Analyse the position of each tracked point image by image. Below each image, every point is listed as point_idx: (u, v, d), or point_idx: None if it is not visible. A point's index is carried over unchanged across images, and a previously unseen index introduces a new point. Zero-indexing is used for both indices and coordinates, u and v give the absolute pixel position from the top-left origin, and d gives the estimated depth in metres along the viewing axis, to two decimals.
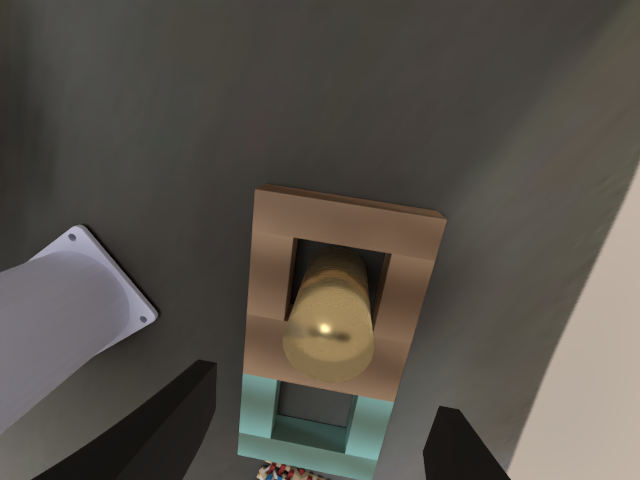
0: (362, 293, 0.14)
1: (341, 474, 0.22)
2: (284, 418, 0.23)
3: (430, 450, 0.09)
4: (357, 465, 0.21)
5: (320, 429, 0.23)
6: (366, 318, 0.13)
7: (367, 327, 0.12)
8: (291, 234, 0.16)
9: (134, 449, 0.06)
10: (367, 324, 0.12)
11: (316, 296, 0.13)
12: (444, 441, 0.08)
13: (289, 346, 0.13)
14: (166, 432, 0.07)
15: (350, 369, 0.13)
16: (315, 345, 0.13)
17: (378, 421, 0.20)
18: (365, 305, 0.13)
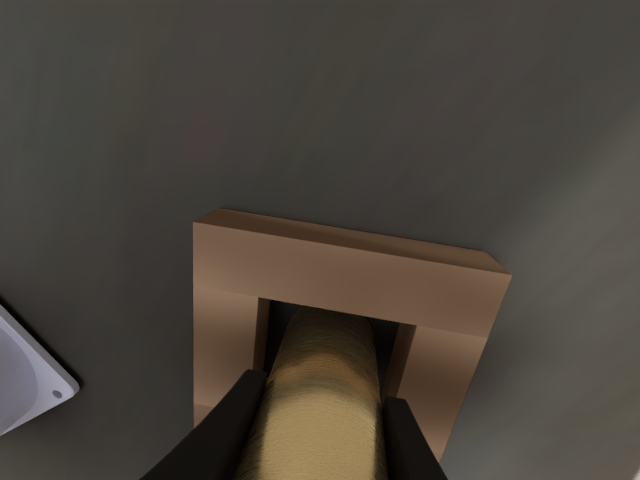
0: (370, 413, 0.08)
1: None
2: None
3: None
4: None
5: None
6: None
7: None
8: (255, 292, 0.10)
9: (207, 465, 0.06)
10: None
11: (283, 446, 0.07)
12: (386, 429, 0.09)
13: None
14: (232, 446, 0.07)
15: None
16: None
17: None
18: (377, 447, 0.07)
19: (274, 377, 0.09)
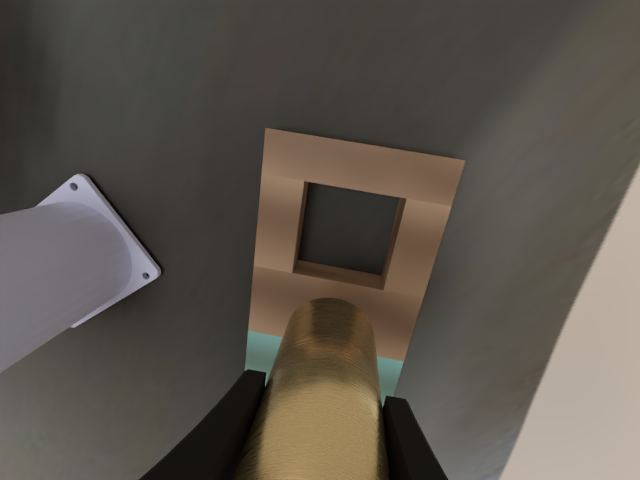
0: (371, 409, 0.08)
1: None
2: None
3: None
4: None
5: None
6: None
7: None
8: (302, 177, 0.16)
9: (207, 465, 0.06)
10: None
11: (284, 442, 0.07)
12: (386, 430, 0.09)
13: None
14: (232, 446, 0.07)
15: None
16: None
17: (386, 382, 0.19)
18: (377, 443, 0.07)
19: (274, 374, 0.09)
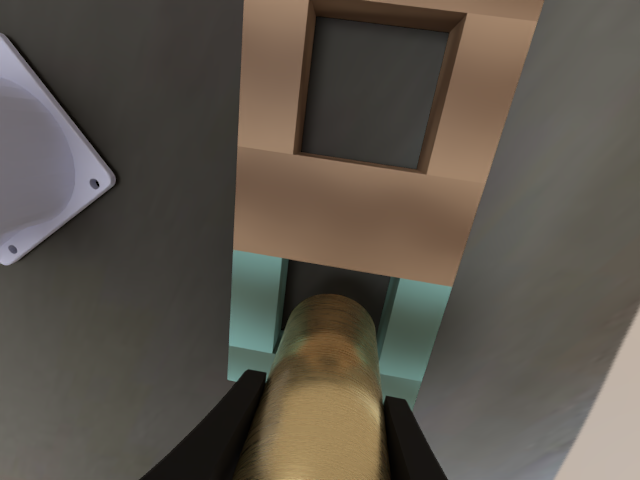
0: (372, 405, 0.08)
1: None
2: None
3: None
4: (393, 390, 0.15)
5: None
6: None
7: None
8: None
9: (208, 465, 0.06)
10: None
11: (284, 438, 0.07)
12: (386, 430, 0.09)
13: None
14: (232, 446, 0.07)
15: None
16: None
17: (426, 319, 0.14)
18: (378, 439, 0.07)
19: (275, 370, 0.09)
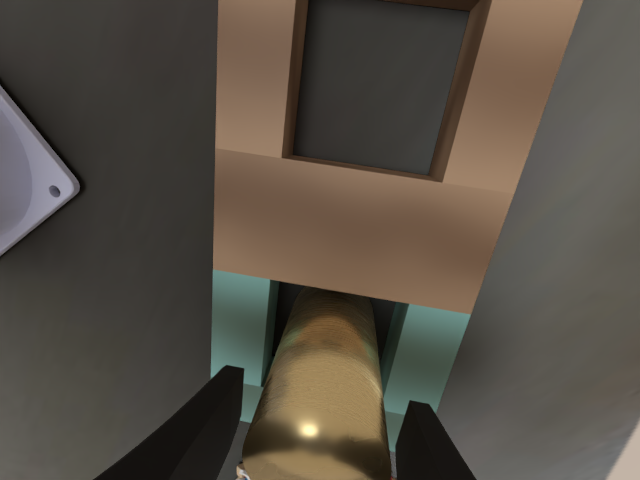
0: (370, 364, 0.09)
1: None
2: None
3: (401, 444, 0.09)
4: (399, 429, 0.13)
5: None
6: (378, 420, 0.08)
7: (381, 442, 0.07)
8: None
9: (175, 458, 0.06)
10: (380, 435, 0.07)
11: (297, 382, 0.08)
12: (412, 435, 0.08)
13: (253, 463, 0.08)
14: (203, 440, 0.07)
15: None
16: (294, 463, 0.08)
17: (439, 351, 0.12)
18: (375, 388, 0.09)
19: (286, 338, 0.10)
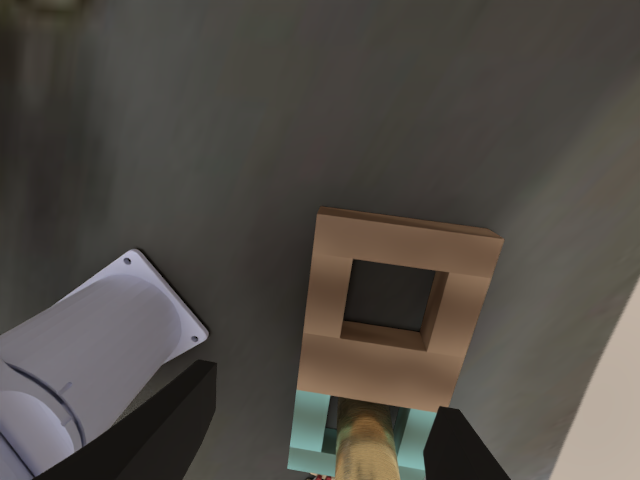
0: (391, 452, 0.18)
1: None
2: (331, 431, 0.24)
3: (430, 450, 0.09)
4: (407, 476, 0.22)
5: None
6: None
7: None
8: (351, 256, 0.17)
9: (134, 450, 0.06)
10: None
11: (358, 470, 0.16)
12: (444, 441, 0.08)
13: None
14: (166, 432, 0.07)
15: None
16: None
17: (429, 432, 0.20)
18: (395, 468, 0.17)
19: (343, 434, 0.19)
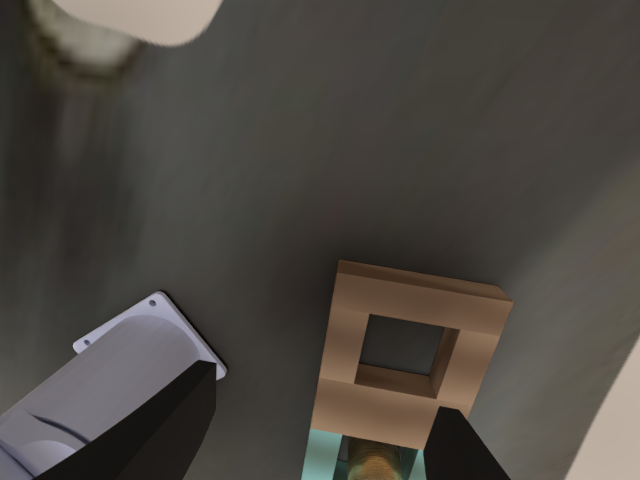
0: None
1: None
2: (340, 463, 0.25)
3: (430, 450, 0.09)
4: None
5: None
6: None
7: None
8: (367, 311, 0.18)
9: (134, 450, 0.06)
10: None
11: None
12: (444, 441, 0.08)
13: None
14: (166, 432, 0.07)
15: None
16: None
17: None
18: None
19: (355, 474, 0.20)
